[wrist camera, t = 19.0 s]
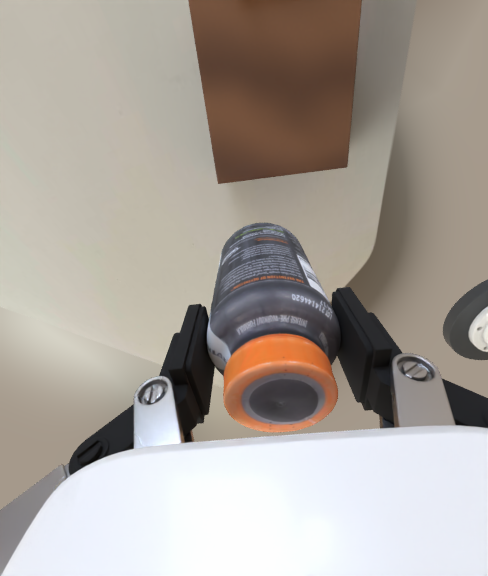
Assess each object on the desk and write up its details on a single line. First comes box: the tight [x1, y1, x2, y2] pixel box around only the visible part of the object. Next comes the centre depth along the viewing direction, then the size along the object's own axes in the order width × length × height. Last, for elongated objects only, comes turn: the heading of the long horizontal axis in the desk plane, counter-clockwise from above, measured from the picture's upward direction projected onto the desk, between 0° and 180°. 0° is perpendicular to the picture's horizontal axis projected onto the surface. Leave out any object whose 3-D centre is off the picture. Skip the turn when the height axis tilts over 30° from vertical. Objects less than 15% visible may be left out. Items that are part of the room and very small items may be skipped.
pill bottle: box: [207, 223, 341, 432], centre depth 13 cm, size 6×6×11 cm
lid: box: [188, 0, 362, 184], centre depth 17 cm, size 14×12×4 cm
